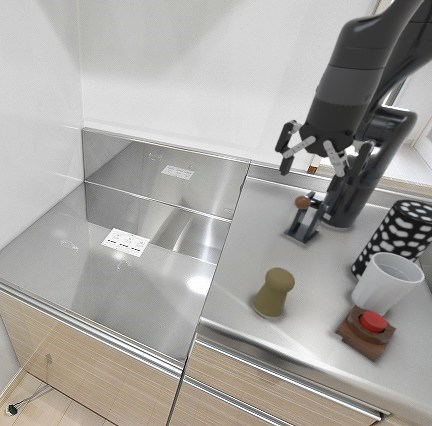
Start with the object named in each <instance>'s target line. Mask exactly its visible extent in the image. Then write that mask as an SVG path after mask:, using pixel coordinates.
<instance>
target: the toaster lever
mask: <svg viewBox="0 0 432 426" xmlns="http://www.w3.org/2000/svg"><path fill="white" fill-rule="evenodd" d="M322 202H323V200H322V199H320V198H317V197H312V198H311V200H310V199H309V198H308V197H307V196H306V195H299V196H297V197H295V199H294V201H293V203H294V207H296V209H306V208H308V207H309V208H312V209H314V210H318V208H319V206H320V204H321V203H322ZM309 208H308V209H309Z"/></svg>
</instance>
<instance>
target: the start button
mask: <svg viewBox="0 0 432 426" xmlns="http://www.w3.org/2000/svg"><path fill="white" fill-rule="evenodd" d="M359 321H360V323H361V325H362V326H363V327H364V328H366V329H367V330H369V331H371V332H374V333H380V332H382V331H383V329H384V328H385V327H386V326H387V322H388V321H387V320H386V318H384V317H383V316H381V315H379V314H377V313H375V312H372V311H366V312H364V313H363V315H362V316H361V317H360V319H359ZM386 321H387V322H386Z"/></svg>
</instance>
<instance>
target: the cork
mask: <svg viewBox="0 0 432 426" xmlns="http://www.w3.org/2000/svg"><path fill="white" fill-rule="evenodd" d="M295 285H296V280H295V277H294V275H293V274H292V273H291V272H290V271H289V270H288V269H285V268H282V267H273V268H270V269H269V270H268V271H266V273H265V276H264V283H263V285H262V286H261V287H260V289H259V291H258V292H257V293H256V294H255V296H254V298H253V300H252V304H253V306H254V308H255V309H254V308H253V309H252V310H253V312H254V313H255V314H256V315H257V316H259V317H260V318H262V319H264V320H267V318H266V317H268V318H277V317H279V316H280V315H282V314H283V313H282V312H283V310H284V307H285V303H286V298H287V297H288V293H289V292H291V291H292V290H293V289H294V287H295ZM263 315H264V316H263Z"/></svg>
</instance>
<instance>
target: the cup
mask: <svg viewBox="0 0 432 426" xmlns="http://www.w3.org/2000/svg"><path fill="white" fill-rule="evenodd" d="M424 280H425V274H424V271H423V269H421V267H419V265H417V264H416V263H413V262H411V261H410V260H408V259H406V258H404V257H401V256H399V255H396V254H392V253H385V252H380V253H376V254H374V255H373V256H372V258H371V260H370V262H369V264H368V266H367V268H366V269H365V271H364V273H363V275H362V276H361V278H360V280H358V282H357V283H356V285H355V287H354V289H353V291H352V292H351V299H352V302H354V304H355V305H357V306H358V307H360V308H362V309H366V310H370V311H373V312H375V313H377V314H379V315H381V316H382V317H383V316H385V315H386V313H387V312H388V311H389V310H390V309H391V308H392V307H394V306H395V304H396V303H398V302H399V301H400V300H401V299H402V298H403V297H404V296H406V295H408V293H409V292H411V291H412V290H413V289H415V288H416V287H417V286H418V285H419V284H421V283H422V282H423V281H424Z"/></svg>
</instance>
